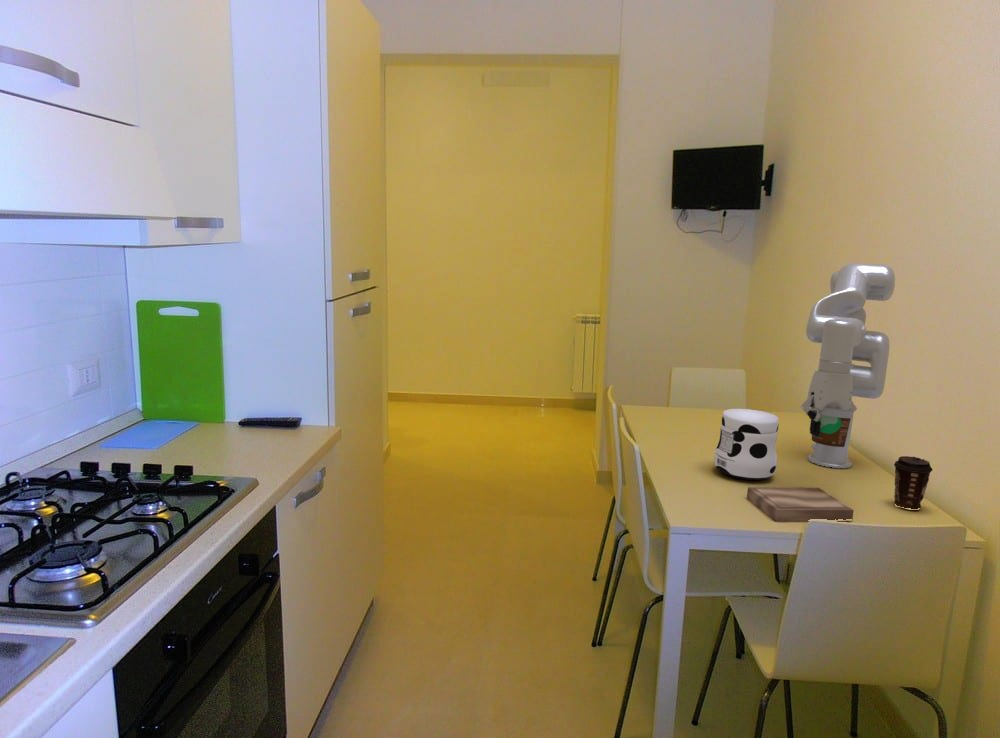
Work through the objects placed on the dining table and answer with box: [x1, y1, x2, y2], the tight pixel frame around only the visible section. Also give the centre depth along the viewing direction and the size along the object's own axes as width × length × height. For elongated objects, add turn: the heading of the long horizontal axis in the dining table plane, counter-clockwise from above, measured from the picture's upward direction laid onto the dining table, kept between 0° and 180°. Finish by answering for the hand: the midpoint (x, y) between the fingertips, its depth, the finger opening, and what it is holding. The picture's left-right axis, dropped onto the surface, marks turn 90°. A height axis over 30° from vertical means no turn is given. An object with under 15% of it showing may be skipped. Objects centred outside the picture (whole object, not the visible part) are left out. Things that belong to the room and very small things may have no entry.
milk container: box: [714, 408, 779, 481], centre depth 211 cm, size 17×17×18 cm
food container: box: [810, 404, 854, 447], centre depth 190 cm, size 12×6×10 cm, turn 16°
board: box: [746, 486, 855, 523], centre depth 187 cm, size 16×20×3 cm
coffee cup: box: [893, 455, 933, 509], centre depth 192 cm, size 9×8×13 cm
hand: (825, 434), depth 191 cm, fingers closed on food container, 5 cm apart
